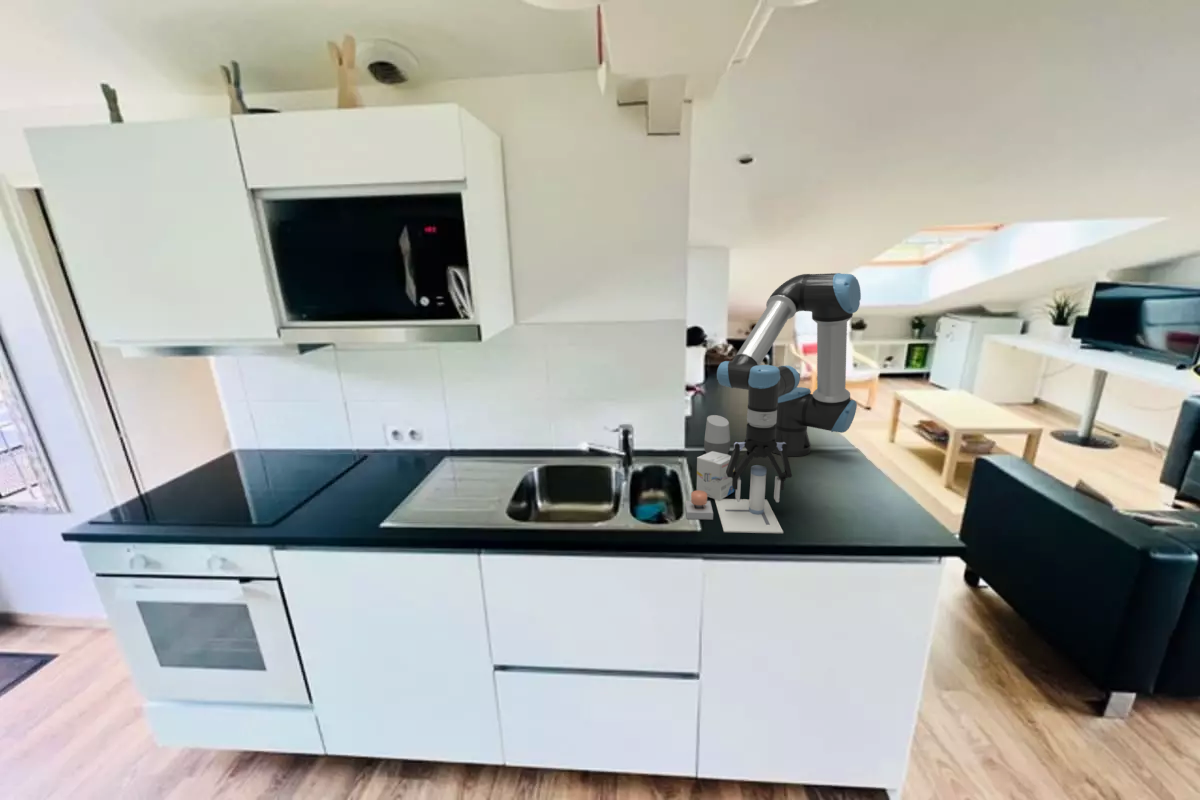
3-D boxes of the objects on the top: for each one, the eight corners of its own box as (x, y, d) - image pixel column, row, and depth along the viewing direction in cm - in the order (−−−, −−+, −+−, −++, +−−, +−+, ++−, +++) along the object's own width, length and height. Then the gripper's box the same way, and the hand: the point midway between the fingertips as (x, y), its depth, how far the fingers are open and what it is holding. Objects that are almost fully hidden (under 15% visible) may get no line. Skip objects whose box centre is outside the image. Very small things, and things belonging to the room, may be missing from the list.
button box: (685, 506, 140) (685, 500, 140) (709, 507, 140) (710, 500, 139) (687, 518, 134) (687, 512, 133) (712, 519, 133) (713, 512, 132)
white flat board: (714, 500, 144) (714, 498, 144) (766, 500, 142) (766, 499, 142) (723, 532, 127) (724, 530, 126) (783, 533, 125) (783, 531, 125)
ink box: (711, 484, 154) (712, 449, 151) (734, 492, 148) (736, 455, 145) (695, 493, 148) (696, 456, 145) (719, 501, 142) (720, 463, 139)
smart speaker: (718, 460, 172) (720, 423, 169) (698, 453, 179) (699, 417, 176) (735, 454, 178) (736, 417, 174) (714, 447, 185) (716, 412, 181)
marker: (747, 507, 138) (749, 465, 135) (762, 507, 138) (764, 465, 134) (750, 514, 134) (752, 471, 131) (765, 514, 134) (768, 471, 130)
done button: (690, 504, 139) (690, 490, 137) (705, 504, 138) (706, 490, 137) (691, 511, 134) (691, 497, 133) (707, 511, 134) (708, 497, 133)
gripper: (720, 428, 127) (717, 505, 133) (809, 428, 124) (802, 506, 130) (716, 419, 134) (714, 493, 140) (800, 419, 132) (794, 494, 138)
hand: (756, 499), depth 135 cm, fingers open, 10 cm apart
